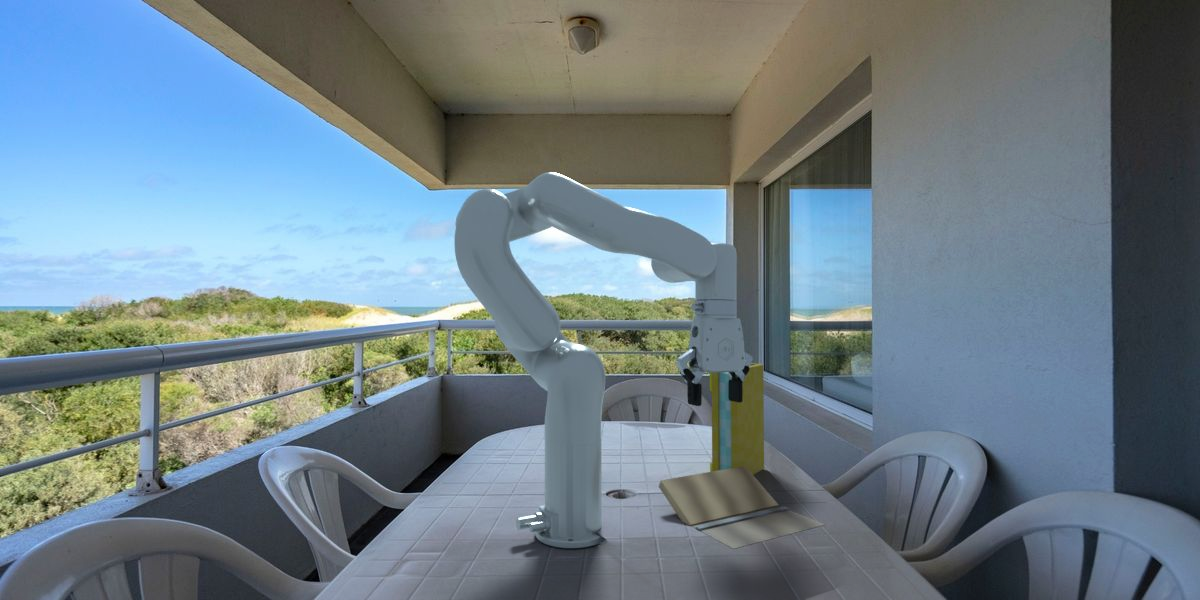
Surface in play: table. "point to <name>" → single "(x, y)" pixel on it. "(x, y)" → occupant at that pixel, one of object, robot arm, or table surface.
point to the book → (738, 423)
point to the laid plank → (757, 526)
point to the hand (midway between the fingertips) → (715, 403)
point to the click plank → (715, 495)
